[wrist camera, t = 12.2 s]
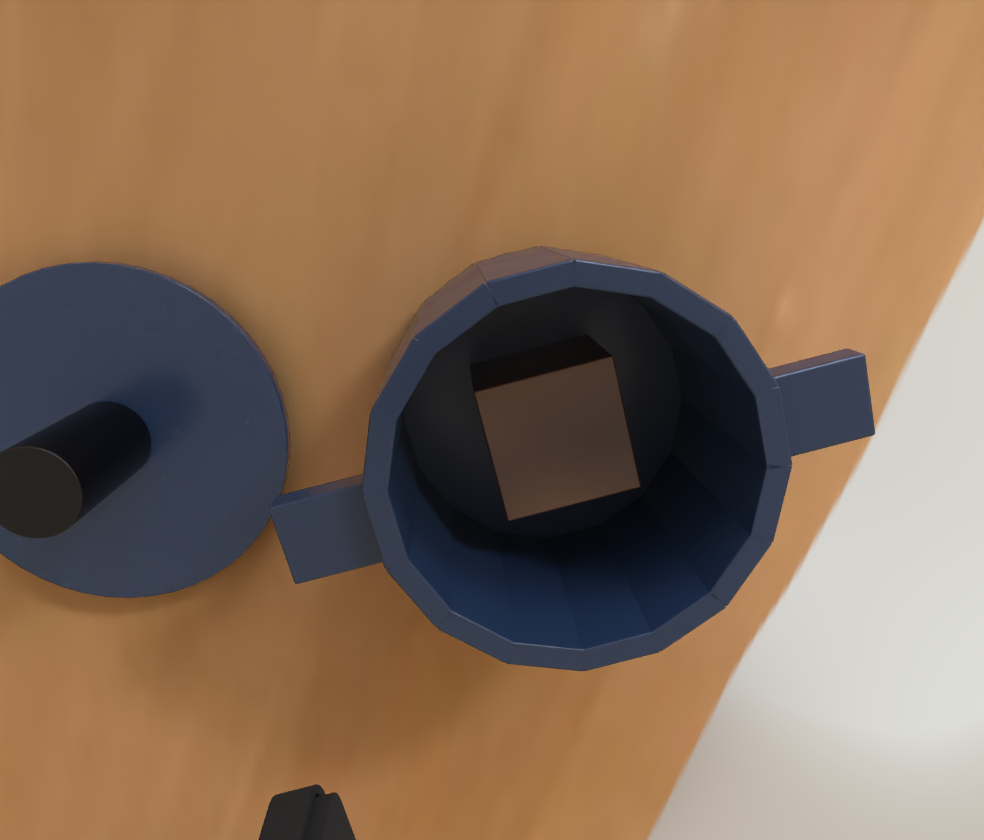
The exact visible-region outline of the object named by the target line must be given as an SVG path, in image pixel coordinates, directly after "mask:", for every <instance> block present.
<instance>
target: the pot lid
mask: <svg viewBox="0 0 984 840" xmlns="http://www.w3.org/2000/svg"><path fill="white" fill-rule="evenodd" d="M289 459H290V431H289V423H288V415H287V411H286V407H285V403H284V399H283V396H282V392H281V390H280V387H279V385H278V382H277V380H276V378H275V375H274V373H273V371H272V369H271V367H270V365H269V364H268V362H267V360H266V358H265V357H264V355H263V353H262V351H261V350H260V349H259V347H258V346H257V345H256V343H255V342H254V341H253V339H252V338H251V337H250V335H249V334H248V333H247V332H246V331H245V330H244V329H243V328H242V326H241V325H240V324H239V323H238V322H237V321H236V320H235V319H234V318H233V317H232V316H231V315H230V314H229V313H227V312H226V311H225V310H224V309H222V308H221V307H220V306H219V305H218V304H216V303H215V302H214V301H213V300H211V299H210V298H208V297H207V296H205V295H203V294H202V293H200V292H199V291H197V290H196V289H194V288H192V287H191V286H188V285H186V284H184V283H182V282H180V281H178V280H176V279H174V278H172V277H170V276H167V275H164V274H161V273H158V272H155V271H152V270H149V269H146V268H142V267H137V266H132V265H127V264H122V263H110V262H79V263H68V264H62V265H57V266H52V267H47V268H42V269H40V270H37V271H34V272H31V273H28V274H25V275H22V276H20V277H18V278H16V279H14V280H12V281H10V282H8V283H6V284H4V285H2V286H0V553H1V554H2V555H3V556H5V557H6V558H8V559H9V560H11V561H12V562H14V563H15V564H16V565H18V566H19V567H21V568H23V569H24V570H26V571H28V572H30V573H32V574H34V575H36V576H37V577H39V578H41V579H44V580H46V581H49V582H51V583H54V584H56V585H59V586H61V587H64V588H67V589H71V590H75V591H78V592H82V593H86V594H92V595H99V596H105V597H122V598H134V597H148V596H155V595H160V594H165V593H170V592H174V591H177V590H180V589H184V588H187V587H190V586H193V585H195V584H197V583H199V582H201V581H203V580H205V579H208V578H210V577H212V576H213V575H215V574H216V573H218V572H220V571H221V570H223V569H224V568H226V567H227V566H229V565H230V564H231V563H232V562H234V561H235V560H236V559H237V558H238V557H239V556H241V555H242V554H243V553H244V552H245V551H246V550H247V549H248V548H249V547H250V545H251V544H252V543H253V542H254V541H255V540H256V539H257V538H258V536H259V535H260V533H261V532H262V530H263V529H264V527H265V526H266V524H267V523H268V521H269V520H270V518H271V514H270V511H269V507H270V506H271V504H272V502H273V501H274V499H275V497H277V496H279V495H281V494H282V491H283V488H284V484H285V481H286V478H287V471H288V465H289Z"/></svg>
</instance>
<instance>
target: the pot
mask: <svg viewBox="0 0 984 840" xmlns="http://www.w3.org/2000/svg"><path fill="white" fill-rule="evenodd" d="M584 335H589V336H590V337H591V338H592V339H594V340H595V341H596V342H597V343H598V344H599V345H601V346H602V347H603V348H604V349H605V350H606V351H608V352H609V353H610V354H611V355H612V356H613V357H614V362H615V367H616V371H617V376H618V381H619V385H620V390H621V394H622V399H623V404H624V408H625V413H626V418H627V422H628V427H629V432H630V436H631V441H632V446H633V450H634V455H635V460H636V464H637V469H638V474H639V478H640V483H641V487H640V488H636V489H632V490H628V491H624V492H620V493H616V494H612V495H608V496H605V497H601V498H597V499H593V500H589V501H585V502H581V503H577V504H574V505H570V506H566V507H562V508H558V509H554V510H550V511H546V512H542V513H539V514H535V515H531V516H527V517H523V518H519V519H515V520H511V521H508V520H507V517H506V513H505V509H504V506H503V502H502V498H501V494H500V491H499V487H498V483H497V479H496V476H495V472H494V468H493V464H492V461H491V457H490V453H489V449H488V445H487V442H486V438H485V434H484V430H483V427H482V423H481V419H480V415H479V412H478V408H477V404H476V400H475V397H474V392H473V386H472V379H471V372H470V365H473V364H476V363H480V362H484V361H488V360H492V359H496V358H499V357H503V356H507V355H511V354H515V353H519V352H523V351H526V350H530V349H534V348H538V347H542V346H546V345H550V344H553V343H557V342H561V341H565V340H569V339H573V338H576V337H580V336H584ZM874 434H875V428H874V421H873V413H872V405H871V397H870V390H869V382H868V374H867V366H866V359H865V355H864V354H862V353H860V352H857V351H854V350H851V349H843V350H839V351H835V352H832V353H828V354H824V355H820V356H816V357H812V358H808V359H805V360H801V361H797V362H793V363H789V364H785V365H781V366H778V367H774V368H770V369H768V368H767V367H766V365H765V364H764V362H763V360H762V359H761V357H760V356H759V354H758V353H757V351H756V350H755V348H754V347H753V345H752V344H751V342H750V341H749V339H748V338H747V336H746V335H745V333H744V332H743V330H742V329H741V327H740V326H739V324H738V323H737V321H736V320H735V319H734V318H733V317H732V315H730V314H728V313H727V312H725V311H724V310H722V309H721V308H719V307H717V306H716V305H714V304H713V303H711V302H709V301H708V300H706V299H705V298H703V297H701V296H700V295H698V294H697V293H695V292H694V291H692V290H690V289H689V288H687V287H686V286H684V285H682V284H681V283H679V282H678V281H676V280H674V279H673V278H671V277H670V276H668V275H667V274H665V273H662V272H659V271H657V270H653V269H650V268H646V267H642V266H639V265H635V264H631V263H628V262H624V261H620V260H617V259H613V258H609V257H606V256H602V255H597V254H590V253H584V252H577V251H571V250H563V249H557V248H550V247H543V246H540V247H532V248H528V249H524V250H520V251H515V252H510V253H505V254H502V255H499V256H496V257H493V258H490V259H486V260H482V261H478V262H476V264H475V263H473V264H472V265H471V266H469V267H468V268H467V269H465V270H464V271H463V272H462V273H460V274H459V275H457V276H456V277H454V278H453V279H451V280H450V281H448V282H447V283H446V284H445V285H444V286H443V287H441V288H440V289H439V290H438V291H437V292H435V293H434V294H433V295H432V296H430V297H429V298H428V299H426V300H425V301H424V303H422V304H421V306H420V308H419V310H418V312H417V313H416V315H415V317H414V319H413V320H412V322H411V324H410V325H409V327H408V328H407V330H406V332H405V334H404V336H403V338H402V340H401V341H400V343H399V345H398V347H397V348H396V350H395V352H394V354H393V355H392V357H391V360H390V363H389V365H388V368H387V370H386V373H385V376H384V378H383V381H382V383H381V386H380V389H379V391H378V394H377V396H376V399H375V402H374V404H373V407H372V409H371V413H370V419H369V428H368V437H367V446H366V456H365V465H364V474H360V475H356V476H352V477H349V478H345V479H341V480H337V481H333V482H329V483H325V484H322V485H318V486H314V487H310V488H306V489H302V490H298V491H295V492H291V493H287V494H283V495H279V496H277V497H275V499H274V501H273V502H272V504H271V506H270V507H269V511H270V514H271V517H272V520H273V523H274V526H275V529H276V531H277V534H278V537H279V540H280V543H281V546H282V548H283V551H284V554H285V557H286V560H287V563H288V565H289V568H290V571H291V574H292V577H293V580H294V582H295V584H299V583H303V582H307V581H311V580H315V579H319V578H322V577H326V576H330V575H334V574H338V573H342V572H346V571H350V570H353V569H357V568H361V567H365V566H369V565H373V564H377V563H381V562H383V564H384V567H385V568H386V570H387V572H388V573H389V574H390V575H391V577H392V578H393V579H394V580H395V581H396V582H397V583H398V585H399V586H400V587H401V588H402V589H403V590H404V591H405V593H406V594H407V595H408V596H409V597H410V598H411V600H412V601H413V602H414V603H415V604H416V605H417V606H418V608H419V609H420V610H421V611H422V612H423V613H424V614H425V616H426V617H427V618H428V619H429V620H430V621H431V623H432V624H433V625H434V626H435V627H437V628H438V629H439V630H440V631H442V632H444V633H446V634H448V635H450V636H452V637H454V638H456V639H458V640H460V641H462V642H464V643H466V644H468V645H470V646H472V647H474V648H476V649H478V650H480V651H482V652H484V653H486V654H488V655H490V656H492V657H494V658H496V659H498V660H500V661H502V662H504V663H507V664H515V665H525V666H535V667H545V668H555V669H565V670H575V671H588V670H591V669H595V668H599V667H603V666H607V665H611V664H615V663H619V662H623V661H627V660H631V659H634V658H638V657H642V656H646V655H650V654H654V653H658V652H660V651H662V650H664V649H665V648H667V647H668V646H670V645H671V644H673V643H674V642H676V641H677V640H679V639H680V638H682V637H683V636H685V635H686V634H688V633H689V632H690V631H692V630H693V629H695V628H696V627H698V626H699V625H701V624H702V623H704V622H705V621H707V620H708V619H710V618H711V617H713V616H714V615H716V614H717V613H719V612H720V611H721V610H723V609H724V608H725V607H726V606H727V605H728V604H729V603H730V601H731V600H732V598H733V597H734V596H735V594H736V593H737V591H738V590H739V589H740V587H741V586H742V584H743V583H744V582H745V580H746V579H747V577H748V576H749V575H750V573H751V572H752V570H753V569H754V568H755V566H756V565H757V563H758V562H759V561H760V559H761V558H762V556H763V555H764V554H765V552H766V551H767V549H768V548H769V547H770V545H771V543H772V542H773V540H774V536H775V532H776V528H777V524H778V520H779V516H780V512H781V508H782V504H783V500H784V496H785V492H786V488H787V484H788V480H789V476H790V472H791V468H792V461H791V456H795V455H799V454H802V453H806V452H810V451H814V450H818V449H822V448H826V447H830V446H834V445H837V444H841V443H845V442H849V441H853V440H857V439H861V438H865V437H868V436H872V435H874Z"/></svg>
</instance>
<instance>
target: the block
mask: <svg viewBox="0 0 984 840" xmlns="http://www.w3.org/2000/svg"><path fill="white" fill-rule="evenodd" d="M470 372H471V379H472V386H473V392H474V397H475V400H476V404H477V408H478V412H479V415H480V419H481V423H482V427H483V430H484V434H485V438H486V442H487V445H488V449H489V453H490V457H491V461H492V464H493V468H494V472H495V476H496V479H497V483H498V487H499V491H500V494H501V498H502V502H503V506H504V509H505V513H506V517H507V520H508V521H511V520H515V519H519V518H523V517H527V516H531V515H535V514H539V513H542V512H546V511H550V510H554V509H558V508H562V507H566V506H570V505H574V504H577V503H581V502H585V501H589V500H593V499H597V498H601V497H605V496H608V495H612V494H616V493H620V492H624V491H628V490H632V489H636V488H640V487H641V483H640V478H639V474H638V469H637V464H636V460H635V455H634V450H633V446H632V441H631V436H630V432H629V427H628V422H627V418H626V413H625V408H624V404H623V399H622V394H621V390H620V385H619V381H618V376H617V371H616V367H615V362H614V357H613V356H612V355H611V354H610V353H609V352H608V351H606V350H605V349H604V348H603V347H602V346H601V345H599V344H598V343H597V342H596V341H595V340H594V339H592V338H591V337H590V336H589V335H584V336H580V337H576V338H573V339H569V340H565V341H561V342H557V343H553V344H550V345H546V346H542V347H538V348H534V349H530V350H526V351H523V352H519V353H515V354H511V355H507V356H503V357H499V358H496V359H492V360H488V361H484V362H480V363H476V364H473V365H470Z"/></svg>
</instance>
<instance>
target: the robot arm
mask: <svg viewBox="0 0 984 840" xmlns="http://www.w3.org/2000/svg"><path fill="white" fill-rule="evenodd" d="M259 840H356V839H355V836H354V834H353V831H352V828H351V826H350V823H349V820H348V817H347V815H346V812H345V809H344V807H343V804H342V801H341V799H340V797H339V795H338V794H337V793H330V794H325V792H324V790H323V789H322V787H321V786H320V785H312V786H308V787H304V788H300V789H297V790H293V791H289V792H285V793H281V794H277V795H275V796H274V797H272V799H271V801H270V804H269V807H268V810H267V813H266V817H265V820H264V823H263V827H262V830H261V834H260V837H259Z"/></svg>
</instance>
